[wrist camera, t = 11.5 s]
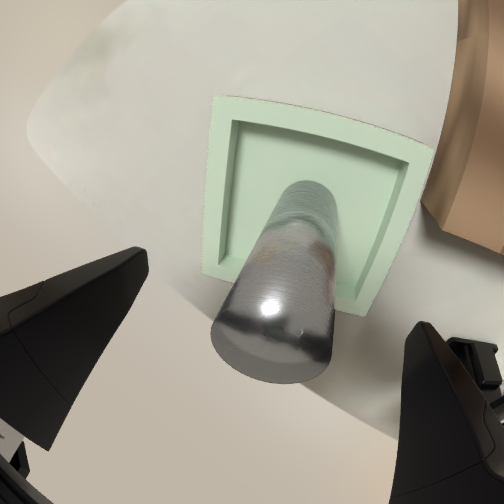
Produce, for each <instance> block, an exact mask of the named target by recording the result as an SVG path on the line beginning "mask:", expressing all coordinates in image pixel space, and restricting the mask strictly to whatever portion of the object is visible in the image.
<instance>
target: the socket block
mask: <svg viewBox="0 0 504 504" xmlns="http://www.w3.org/2000/svg"><path fill="white" fill-rule="evenodd" d="M421 202H422V203H423V204H424V206H425V207H426V208H427V210H428V211H429V212H430V214H431V215H432V217H433V218H434V219H435V221H436V222H437V224H438V225H439V227H440V228H441V229H442V230H443V231H445V232H448V233H451V234H453V235H456V236H459V237H461V238H464V239H466V240H469V241H471V242H474V243H476V244H479V245H481V246H483V247H486V248H488V249H490V250H493V251H495V252H497V253H500V254H502V255H504V0H459V15H458V36H457V48H456V58H455V66H454V73H453V80H452V86H451V91H450V97H449V102H448V107H447V112H446V116H445V121H444V125H443V129H442V133H441V137H440V141H439V144H438V148H437V152H436V155H435V158H434V162H433V165H432V168H431V171H430V175H429V178H428V181H427V184H426V187H425V189H424V192H423V195H422V198H421Z"/></svg>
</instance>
